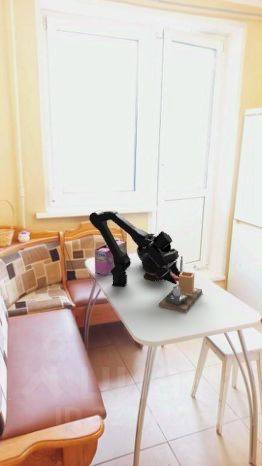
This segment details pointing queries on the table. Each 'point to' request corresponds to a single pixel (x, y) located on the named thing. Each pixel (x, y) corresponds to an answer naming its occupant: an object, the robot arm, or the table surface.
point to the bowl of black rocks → (139, 249)
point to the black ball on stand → (149, 268)
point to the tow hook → (180, 269)
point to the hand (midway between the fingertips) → (178, 280)
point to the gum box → (106, 258)
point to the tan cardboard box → (186, 282)
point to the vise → (176, 297)
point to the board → (184, 306)
